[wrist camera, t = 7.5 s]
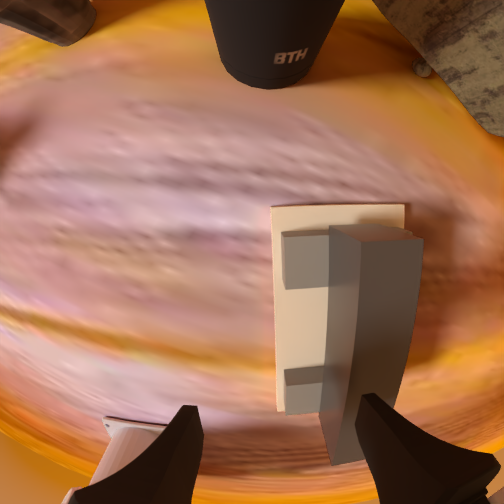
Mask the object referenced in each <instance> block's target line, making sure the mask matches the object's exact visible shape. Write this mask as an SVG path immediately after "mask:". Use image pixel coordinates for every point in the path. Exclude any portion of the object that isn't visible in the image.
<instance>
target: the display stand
mask: <svg viewBox="0 0 504 504" xmlns="http://www.w3.org/2000/svg"><path fill="white" fill-rule="evenodd" d="M270 213H271V234H272V257H273V283H274V312H275V349H276V404H277V412H281V411H285V414H286V415H298V414H307V413H316V412H319V411H320V402H321V393H322V383H323V372H324V360H325V347H326V331H327V311H328V280H329V225H350V224H380V225H384V226H387V227H390V228H393V229H396V230H399V231H402V232H405V233H408V234H411V235H413V232H412V231H409V230H406V229H404V205H403V204H325V205H294V206H271V207H270Z"/></svg>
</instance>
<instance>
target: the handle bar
mask: <svg viewBox="0 0 504 504" xmlns="http://www.w3.org/2000/svg"><path fill="white" fill-rule="evenodd" d="M423 246H424V239H423V238H420V237H417V236H414V235H411V234H408V233H405V232H402V231H399V230H396V229H393V228H390V227H387V226H384V225H380V224H350V225H329V280H328V311H327V331H326V347H325V360H324V372H323V383H322V393H321V402H320V411H319V419H320V422H321V426H322V430H323V434H324V438H325V442H326V446H327V450H328V454H329V458H330V462H331V466H333V465H339V464H344V463H350V462H354V461H359V460H363V459H365V456H364V454H363V451H362V449H361V446H360V444H359V441H358V437H357V433H356V429H355V421H356V417H357V413H358V409H359V404H360V400H361V395H363V394H368V393H375V394H376V395H378V396H379V397H380V398H381V399H382V400H383V401H385V402H386V403H387V404H388V405H389V406H390V407H392V408H394V405H395V402H396V398H397V395H398V392H399V388H400V384H401V381H402V377H403V373H404V369H405V365H406V361H407V357H408V352H409V348H410V343H411V338H412V333H413V328H414V322H415V316H416V310H417V304H418V297H419V289H420V281H421V271H422V260H423Z"/></svg>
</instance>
